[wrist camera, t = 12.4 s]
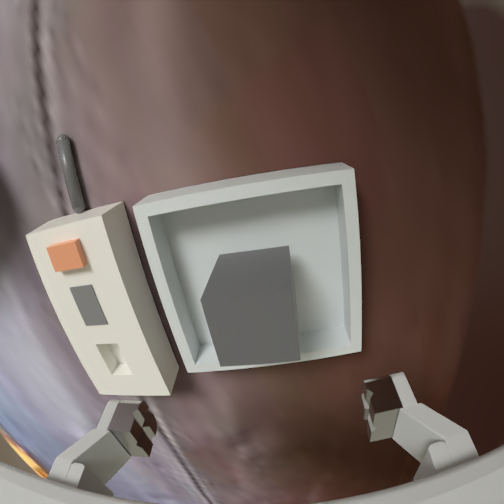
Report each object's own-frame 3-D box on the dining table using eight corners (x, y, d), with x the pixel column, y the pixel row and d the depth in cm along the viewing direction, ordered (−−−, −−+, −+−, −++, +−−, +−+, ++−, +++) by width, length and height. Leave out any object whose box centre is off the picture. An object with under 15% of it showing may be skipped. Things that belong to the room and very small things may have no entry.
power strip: (32, 148, 20) (-2, 156, 16) (104, 119, 19) (73, 120, 15) (112, 369, 28) (97, 398, 24) (179, 367, 27) (169, 400, 23)
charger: (222, 246, 22) (200, 299, 16) (288, 237, 21) (291, 289, 15) (235, 302, 24) (220, 366, 17) (296, 295, 23) (300, 360, 17)
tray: (148, 195, 21) (132, 206, 18) (341, 162, 20) (353, 168, 17) (194, 348, 26) (187, 372, 23) (352, 327, 25) (361, 351, 22)
